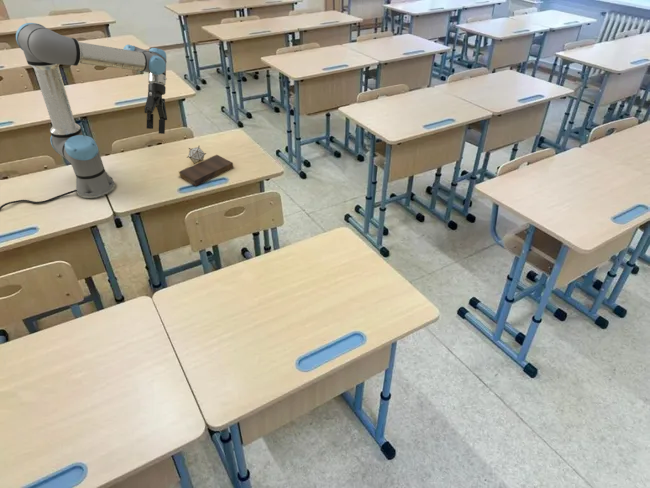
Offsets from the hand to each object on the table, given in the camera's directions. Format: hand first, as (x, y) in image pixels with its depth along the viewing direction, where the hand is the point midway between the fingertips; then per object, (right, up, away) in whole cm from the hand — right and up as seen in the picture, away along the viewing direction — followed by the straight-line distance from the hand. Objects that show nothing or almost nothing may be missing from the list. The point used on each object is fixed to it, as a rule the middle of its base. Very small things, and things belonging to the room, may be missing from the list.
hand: (155, 131), depth 210 cm
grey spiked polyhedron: (+17, -13, +9) cm, 23 cm away
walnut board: (+23, -19, +2) cm, 30 cm away
